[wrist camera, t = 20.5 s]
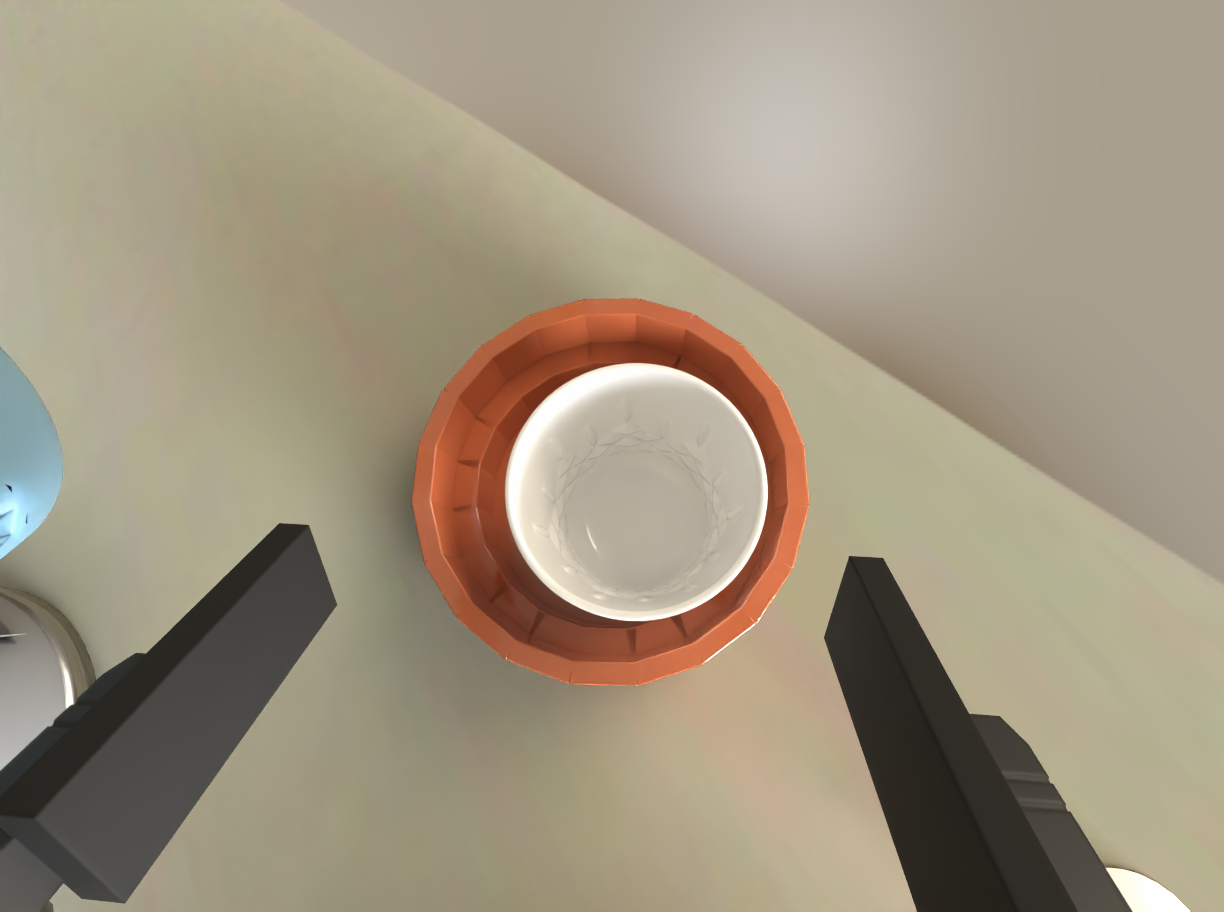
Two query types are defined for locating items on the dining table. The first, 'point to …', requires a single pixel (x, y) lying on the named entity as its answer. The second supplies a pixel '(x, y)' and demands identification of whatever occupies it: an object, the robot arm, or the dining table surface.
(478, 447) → the terracotta bowl
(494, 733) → the dining table surface
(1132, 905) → the champagne flute
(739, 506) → the white cup
